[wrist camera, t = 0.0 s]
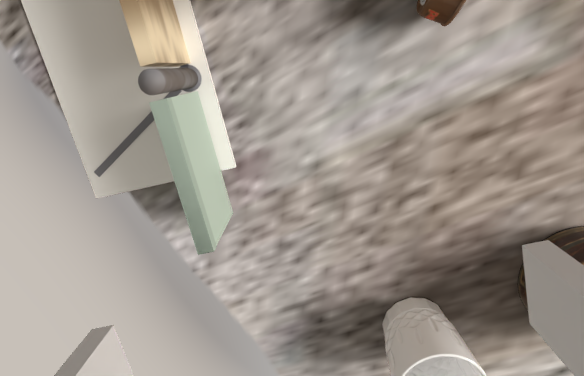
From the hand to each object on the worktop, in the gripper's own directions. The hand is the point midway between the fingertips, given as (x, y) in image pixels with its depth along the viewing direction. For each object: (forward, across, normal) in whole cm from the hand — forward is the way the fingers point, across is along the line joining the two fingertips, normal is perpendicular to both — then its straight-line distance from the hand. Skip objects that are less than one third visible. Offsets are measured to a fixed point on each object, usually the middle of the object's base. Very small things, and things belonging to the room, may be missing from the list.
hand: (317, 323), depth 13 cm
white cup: (+28, +7, -21) cm, 36 cm away
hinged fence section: (+27, -9, +2) cm, 29 cm away
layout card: (+28, -14, +11) cm, 33 cm away
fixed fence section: (+28, -9, +15) cm, 33 cm away
